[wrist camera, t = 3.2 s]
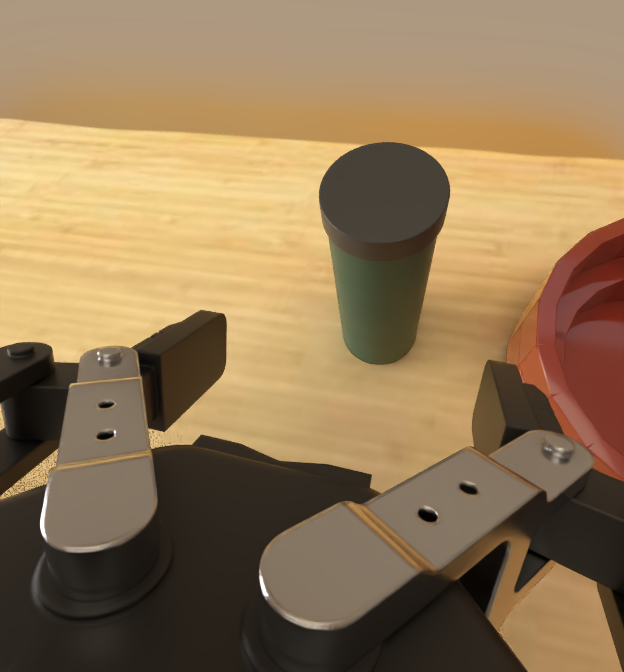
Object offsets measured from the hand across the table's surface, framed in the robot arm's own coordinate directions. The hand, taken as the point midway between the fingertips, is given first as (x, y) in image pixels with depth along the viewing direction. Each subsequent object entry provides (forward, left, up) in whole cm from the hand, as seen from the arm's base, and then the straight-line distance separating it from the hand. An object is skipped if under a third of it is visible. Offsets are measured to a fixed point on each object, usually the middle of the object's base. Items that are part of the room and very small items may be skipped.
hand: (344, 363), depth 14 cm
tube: (0, -7, -12) cm, 14 cm away
